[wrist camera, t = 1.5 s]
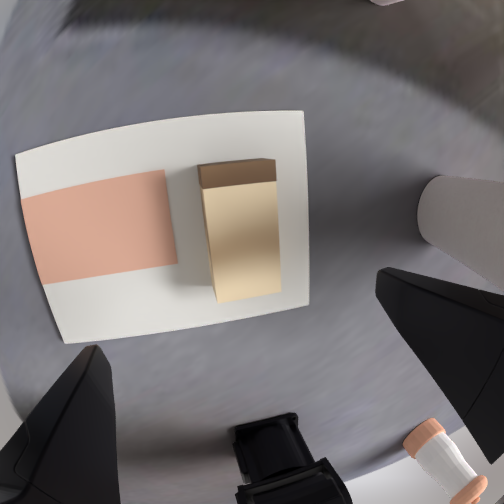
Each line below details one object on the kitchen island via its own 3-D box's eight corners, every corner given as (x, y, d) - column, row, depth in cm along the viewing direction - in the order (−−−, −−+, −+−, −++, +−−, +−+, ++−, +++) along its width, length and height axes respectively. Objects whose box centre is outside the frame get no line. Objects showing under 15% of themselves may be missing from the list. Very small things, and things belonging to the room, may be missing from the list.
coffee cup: (448, 138, 22) (593, 165, 8) (475, 215, 26) (588, 263, 12) (388, 203, 22) (556, 272, 8) (425, 278, 26) (543, 356, 12)
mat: (300, 111, 18) (303, 110, 18) (306, 302, 23) (309, 305, 23) (17, 154, 14) (14, 154, 14) (66, 341, 19) (64, 344, 19)
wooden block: (196, 164, 17) (200, 166, 15) (262, 158, 18) (275, 159, 16) (211, 285, 20) (217, 303, 18) (269, 275, 21) (282, 291, 19)
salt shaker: (411, 427, 37) (475, 504, 20) (440, 412, 39) (502, 479, 21) (396, 451, 40) (450, 523, 22) (425, 436, 41) (479, 500, 24)
